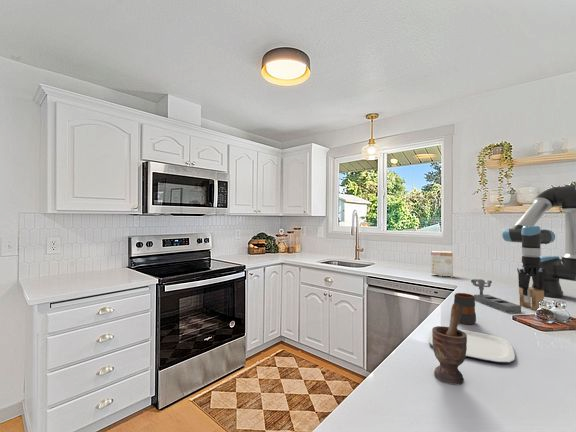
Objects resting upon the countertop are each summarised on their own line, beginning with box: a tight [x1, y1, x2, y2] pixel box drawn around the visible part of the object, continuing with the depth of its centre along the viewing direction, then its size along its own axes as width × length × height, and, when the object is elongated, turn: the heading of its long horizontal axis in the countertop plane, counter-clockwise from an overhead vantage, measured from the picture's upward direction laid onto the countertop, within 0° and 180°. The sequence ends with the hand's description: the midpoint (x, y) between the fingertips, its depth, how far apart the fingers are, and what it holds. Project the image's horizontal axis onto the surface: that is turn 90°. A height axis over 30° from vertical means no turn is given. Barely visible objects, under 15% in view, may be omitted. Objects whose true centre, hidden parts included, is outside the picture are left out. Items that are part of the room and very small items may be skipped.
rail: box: [473, 294, 522, 313], centre depth 156 cm, size 8×22×3 cm, turn 5°
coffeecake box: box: [430, 250, 454, 276], centre depth 238 cm, size 15×7×20 cm, turn 58°
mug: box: [453, 292, 477, 326], centre depth 132 cm, size 9×12×12 cm
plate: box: [428, 328, 516, 364], centre depth 106 cm, size 25×25×2 cm
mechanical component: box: [470, 278, 492, 295], centre depth 173 cm, size 3×10×10 cm, turn 79°
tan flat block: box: [518, 286, 545, 312], centre depth 152 cm, size 4×10×10 cm, turn 5°
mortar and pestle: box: [431, 302, 467, 385], centre depth 86 cm, size 12×9×20 cm
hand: (531, 301), depth 152 cm, fingers closed on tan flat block, 4 cm apart
